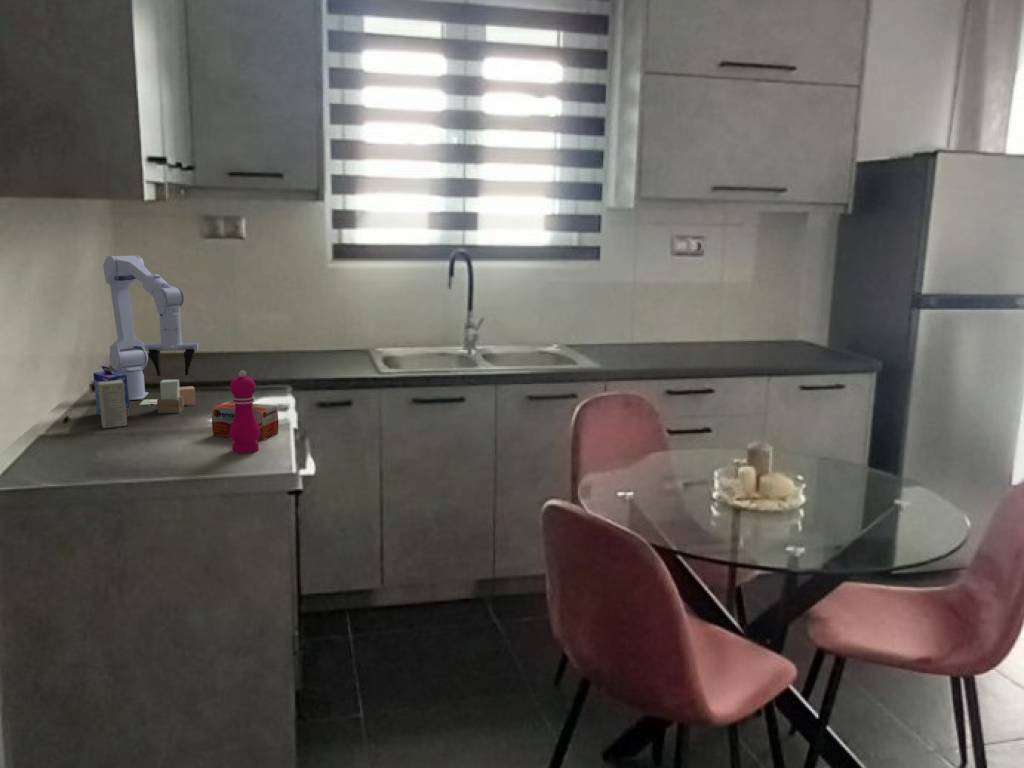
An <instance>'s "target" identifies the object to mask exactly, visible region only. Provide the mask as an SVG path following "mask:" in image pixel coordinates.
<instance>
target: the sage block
mask: <svg viewBox="0 0 1024 768" xmlns="http://www.w3.org/2000/svg"><path fill="white" fill-rule="evenodd" d="M159 386H160V387H159V389H160V398H161V400H163V399H178V398H179V397H180V389H179V387H180V379H162V380H161V381H159Z"/></svg>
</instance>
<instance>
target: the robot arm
mask: <svg viewBox="0 0 1024 768" xmlns="http://www.w3.org/2000/svg"><path fill="white" fill-rule="evenodd" d="M102 265H103V273H104V279H105V283H106V284H107V285H109V289H110V295H111V297H110V298H111V302H112V303H111V304H112V309H113V315H114V316H113V317H114V322H115V330H116V335H117V339H115V341H114V342H113V343H112V344H111V345H110V346H109V364H110V366H111V367H112V368H113V369H114V371H115V372H116V373H121V374H125V375H127V385H128V394H129V401H130V400H131V401H132V400H133V401H136V400H138V401H139V400H141V401H143V400H144V399H145V398H146V396H148V394H149V392H148V391H146V388H145V375H144V372H143V370H144V369H145V367H146V366H147V364H148V361H149V358H150V360H151V362H152V363H153V365H154V368H155V371H156V374H157V377H159V376H160V377H161V376H162V365H161V351H163V352H165V351H167V352H168V351H183V358H184V375H185V376H189V375H190V368H191V363H192V360H193V358H194V356H195V352H196V351H199V349H200V348H199V342H195V343H194V342H183V338H182V337H183V335H182V320H181V319H182V316H181V306H183V304H184V300H185V296H184V292H183V290H182V289H181V287H180V286H178V285H177V286H174V285H173V286H172V285H170V284H169V282H167V281H166V280H164V278H162V277H161V275H160V274H159V273H157V274H155V273H153V274H152V273H151V272H150V270H149V269H147V267H146V266H145V262H144V259H143V258H142V257H141V256H140V255H139V254H134V255H108V256H106V258H105V259H104V262H103V264H102ZM137 280H138V281H139V282H141V283H142V287H143V289H144V290H145V291H146V292H147V293H148V294H149V295H150V296H151V297H153V300H154V301H153V302H154V304H155V306H156V312H157V314H158V316H159V333H160V342H157V343H154V342H153V343H144V342H143V341H142V340H140V339H138V338H137V337H136V331H135V325H134V324H135V323H134V318H133V310H132V304H131V299H130V298H131V297H130V292H129V291H130V290H129V287H130V285H131V284H132V283H134V282H136V281H137ZM129 347H131V348H129Z"/></svg>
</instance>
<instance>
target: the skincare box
mask: <svg viewBox="0 0 1024 768" xmlns="http://www.w3.org/2000/svg"><path fill="white" fill-rule="evenodd" d="M98 389H99V400H100V410H101V415H100V421H101V427H102V428H103V429H106V428H107V429H108V428H116V427H124V426H126V427H127V426H128V417H127V416H126V405H125V394H124V383H123V381H122V380H113V381H102V382H98Z"/></svg>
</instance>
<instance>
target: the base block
mask: <svg viewBox="0 0 1024 768" xmlns="http://www.w3.org/2000/svg"><path fill="white" fill-rule="evenodd" d="M156 406H157V413H158V414H179V412H180V413H181V412H182V411H183V410H185V406H184V396H180V397H179V398H178V399H163V400H161V397H159V398H158V400H157V405H156Z"/></svg>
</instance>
